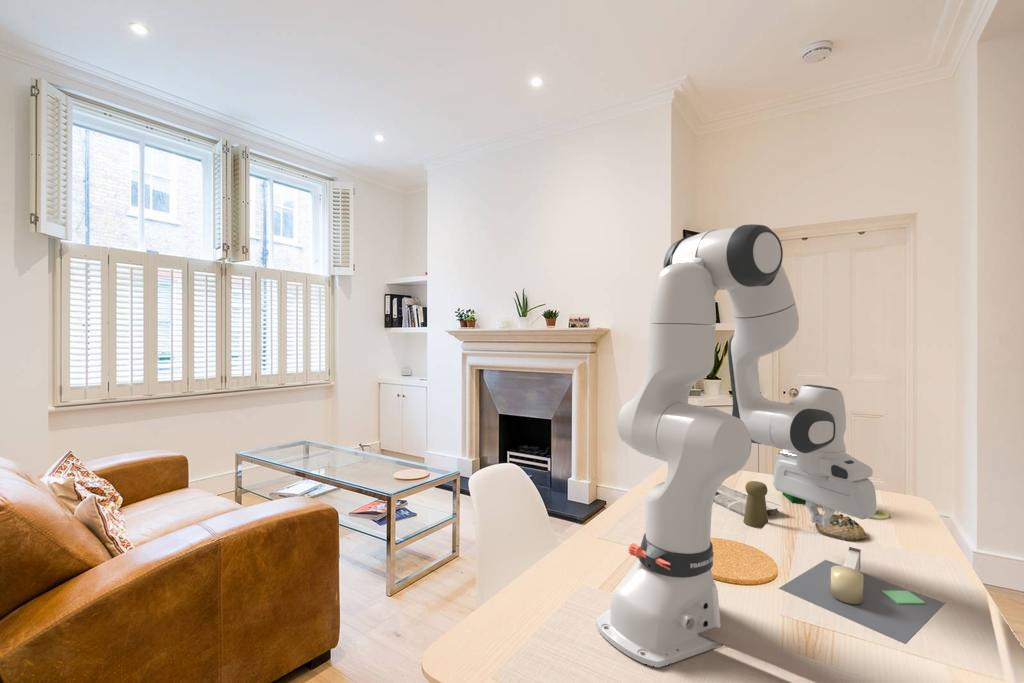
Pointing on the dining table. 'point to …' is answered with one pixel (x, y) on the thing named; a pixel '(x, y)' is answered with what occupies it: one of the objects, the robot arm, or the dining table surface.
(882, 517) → the key
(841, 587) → the dial lever
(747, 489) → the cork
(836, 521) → the bread roll
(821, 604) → the dial board
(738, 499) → the newspaper
